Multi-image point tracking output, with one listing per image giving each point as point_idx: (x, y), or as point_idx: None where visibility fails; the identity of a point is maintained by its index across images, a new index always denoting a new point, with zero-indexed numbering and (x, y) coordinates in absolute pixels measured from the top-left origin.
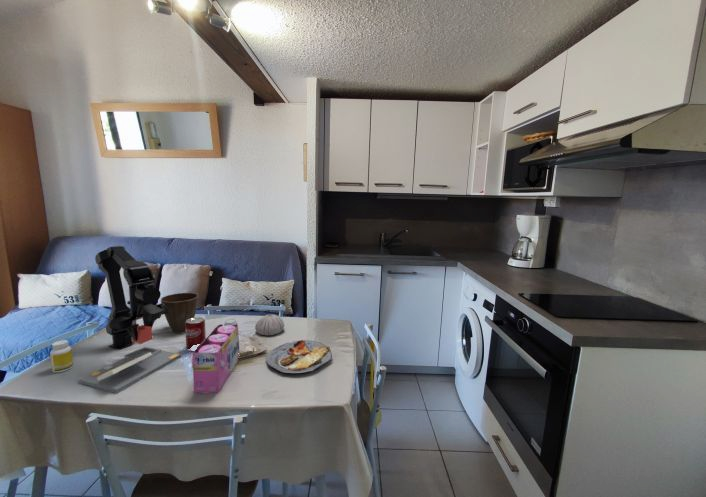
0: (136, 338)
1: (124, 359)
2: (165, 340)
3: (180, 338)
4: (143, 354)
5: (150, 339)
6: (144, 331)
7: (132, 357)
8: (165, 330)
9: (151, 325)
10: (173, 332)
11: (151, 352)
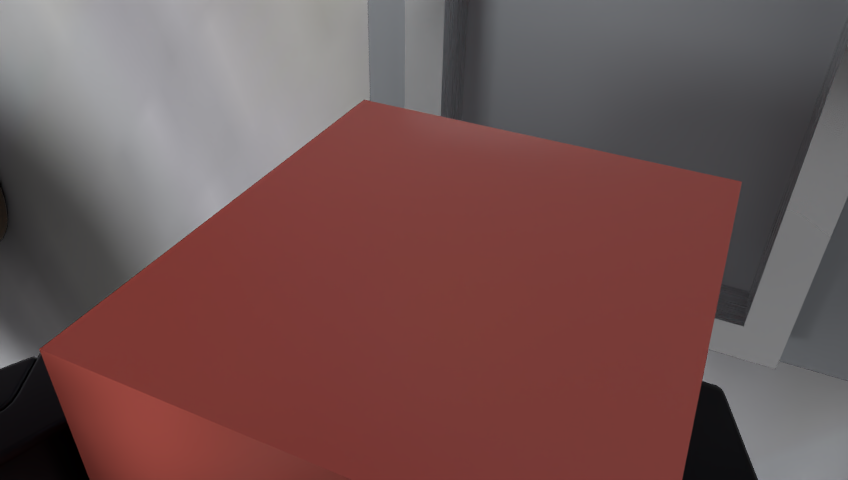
0: (723, 440)
1: (804, 324)
2: (139, 175)
3: (16, 25)
4: (577, 145)
5: (417, 118)
6: (449, 411)
7: (840, 202)
8: (36, 314)
9: (8, 409)
10: (6, 211)
11: (482, 63)
